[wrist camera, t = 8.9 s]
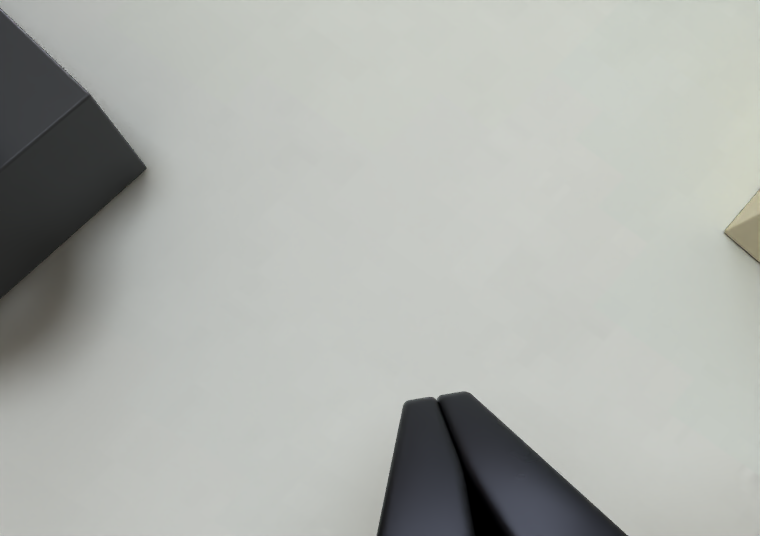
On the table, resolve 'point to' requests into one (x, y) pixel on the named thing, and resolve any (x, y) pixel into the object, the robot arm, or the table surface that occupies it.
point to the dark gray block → (50, 155)
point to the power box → (747, 227)
